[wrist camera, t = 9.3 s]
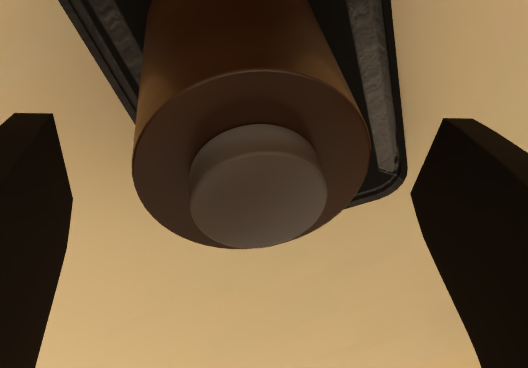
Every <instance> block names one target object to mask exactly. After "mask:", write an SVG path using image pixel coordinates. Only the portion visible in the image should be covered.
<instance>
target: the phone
mask: <svg viewBox="0 0 528 368" xmlns="http://www.w3.org/2000/svg"><path fill="white" fill-rule="evenodd" d="M58 1H59V2H60V4H61V6H62V7H63V9H64V11H65V12H66V14H67V15H68V17H69V19H70V20H71V22H72V23H73V25H74V27H75V28H76V30H77V32H78V33H79V35H80V36H81V38H82V40H83V41H84V43H85V44H86V46H87V48H88V49H89V51H90V53H91V54H92V56H93V57H94V59H95V61H96V62H97V64H98V65H99V67H100V69H101V70H102V72H103V74H104V75H105V77H106V78H107V80H108V82H109V83H110V85H111V86H112V88H113V90H114V91H115V93H116V95H117V96H118V98H119V99H120V101H121V103H122V104H123V106H124V107H125V109H126V111H127V112H128V114H129V116H130V117H131V119H132V120H133V122H134V124H135V125H136V116H137V106H138V97H139V87H140V77H141V68H142V58H143V48H144V39H145V29H146V21H147V14H148V11H149V7H150V4H151V2H152V0H58ZM308 3H309V5H310V7H311V9H312V11H313V13H314V15H315V17H316V19H317V22H318V24H319V26H320V28H321V30H322V32H323V34H324V36H325V38H326V41H327V43H328V45H329V47H330V49H331V51H332V53H333V55H334V58H335V60H336V62H337V64H338V66H339V68H340V70H341V72H342V74H343V77H344V79H345V81H346V83H347V85H348V87H349V89H350V91H351V93H352V96H353V98H354V100H355V102H356V104H357V106H358V108H359V110H360V113H361V115H362V117H363V119H364V121H365V123H366V125H367V129H368V132H369V136H370V145H371V153H370V162H369V166H368V170H367V174H366V176H365V178H364V181H363V183H362V185H361V187H360V188H359V190H358V192H357V193H356V195H355V196H354V197H353V199H352V200H351V201H350V203H349V204H348V205H347V206H346V207H345V208H344V209H347V208H350V207H354V206H357V205H360V204H364V203H367V202H371V201H374V200H377V199H380V198H383V197H385V196H388V195H389V194H391V193H392V192H394V191H396V190H397V189H398V188H399V187H400V186H401V185H402V184H403V182H404V180H405V178H406V176H407V169H408V167H407V157H406V147H405V137H404V127H403V117H402V107H401V98H400V88H399V78H398V68H397V58H396V48H395V38H394V29H393V19H392V9H391V0H308Z"/></svg>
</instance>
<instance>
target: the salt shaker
mask: <svg viewBox="0 0 528 368" xmlns="http://www.w3.org/2000/svg"><path fill="white" fill-rule="evenodd" d="M370 153H371V145H370V136H369V132H368V129H367V125H366V123H365V121H364V119H363V117H362V115H361V113H360V110H359V108H358V106H357V104H356V102H355V100H354V98H353V96H352V93H351V91H350V89H349V87H348V85H347V83H346V81H345V79H344V77H343V74H342V72H341V70H340V68H339V66H338V64H337V62H336V60H335V58H334V55H333V53H332V51H331V49H330V47H329V45H328V43H327V41H326V38H325V36H324V34H323V32H322V30H321V28H320V26H319V24H318V22H317V19H316V17H315V15H314V13H313V11H312V9H311V7H310V5H309V3H308V0H152V2H151V4H150V7H149V11H148V14H147V21H146V29H145V39H144V48H143V58H142V68H141V77H140V87H139V97H138V106H137V116H136V126H135V135H134V145H133V154H132V177H133V182H134V186H135V189H136V191H137V194H138V196H139V198H140V200H141V202H142V203H143V205H144V207H145V208H146V209H147V211H148V212H149V213H150V214H151V215H152V217H153V218H155V219H156V220H157V221H158V222H159V223H160V224H161V225H163V226H164V227H165V228H167V229H168V230H170V231H171V232H173V233H175V234H177V235H179V236H181V237H183V238H185V239H188V240H190V241H193V242H196V243H199V244H203V245H206V246H212V247H217V248H226V249H253V248H264V247H270V246H274V245H278V244H281V243H285V242H288V241H291V240H294V239H297V238H299V237H302V236H304V235H306V234H309V233H310V232H312V231H314V230H316V229H318V228H320V227H321V226H323V225H324V224H326V223H327V222H329V221H330V220H331V219H333V218H334V217H335V216H336V215H338V214H339V213H340V212H341V211H342V210H343V209H344V208H345V207H346V206H347V205H348V204H349V203H350V201H351V200H352V199H353V197H354V196H355V195H356V193H357V192H358V190H359V188H360V187H361V185H362V183H363V181H364V178H365V176H366V174H367V170H368V166H369V162H370Z"/></svg>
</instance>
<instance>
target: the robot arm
mask: <svg viewBox="0 0 528 368" xmlns="http://www.w3.org/2000/svg"><path fill="white" fill-rule="evenodd" d="M410 194H411V198H412V201H413V205H414V208H415V212H416V216H417V219H418V222H419V225H420V228H421V232H422V235H423V238H424V240H425V242H426V244H427V247H428V249H429V251H430V253H431V255H432V258H433V260H434V262H435V264H436V266H437V269H438V271H439V273H440V275H441V277H442V279H443V281H444V284H445V286H446V288H447V290H448V292H449V294H450V296H451V298H452V300H453V303H454V305H455V307H456V309H457V311H458V313H459V315H460V318H461V320H462V322H463V324H464V326H465V328H466V330H467V332H468V335H469V337H470V339H471V342H472V344H473V347H474V349H475V351H476V354H477V356H478V359H479V362H480V365H481V368H528V153H527V152H525V151H524V150H522V149H521V148H519V147H518V146H516V145H515V144H513V143H512V142H510V141H509V140H507V139H506V138H504V137H503V136H501V135H500V134H498V133H496V132H495V131H493V130H492V129H490V128H488V127H486V126H485V125H483V124H481V123H479V122H478V121H476V120H474V119H463V118H443V120H442V123H441V125H440V127H439V129H438V132H437V134H436V136H435V139H434V141H433V143H432V145H431V148H430V150H429V152H428V154H427V157H426V159H425V161H424V164H423V166H422V168H421V170H420V173H419V175H418V177H417V180H416V182H415V184H414V186H413V189H412V191H411V193H410ZM72 202H73V197H72V193H71V189H70V184H69V180H68V176H67V172H66V167H65V163H64V159H63V155H62V150H61V146H60V142H59V138H58V133H57V129H56V125H55V121H54V116H53V114H47V113H14V114H13V115H12V116H11V117H10V118H8V119H7V120H6V121H5V122H4V123H3V124H2V125H1V126H0V368H35V366H36V362H37V358H38V355H39V351H40V347H41V344H42V340H43V336H44V332H45V329H46V325H47V321H48V317H49V314H50V310H51V306H52V303H53V299H54V295H55V291H56V288H57V284H58V280H59V276H60V272H61V269H62V265H63V261H64V257H65V253H66V249H67V242H68V235H69V228H70V220H71V211H72Z"/></svg>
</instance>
